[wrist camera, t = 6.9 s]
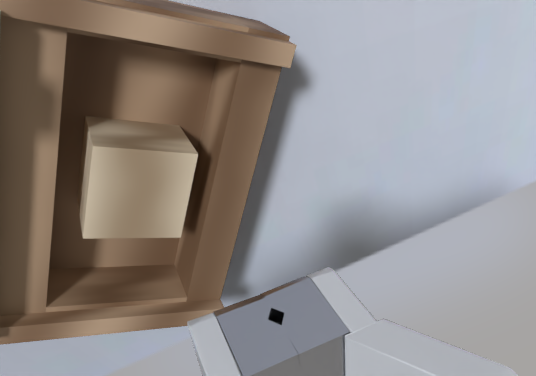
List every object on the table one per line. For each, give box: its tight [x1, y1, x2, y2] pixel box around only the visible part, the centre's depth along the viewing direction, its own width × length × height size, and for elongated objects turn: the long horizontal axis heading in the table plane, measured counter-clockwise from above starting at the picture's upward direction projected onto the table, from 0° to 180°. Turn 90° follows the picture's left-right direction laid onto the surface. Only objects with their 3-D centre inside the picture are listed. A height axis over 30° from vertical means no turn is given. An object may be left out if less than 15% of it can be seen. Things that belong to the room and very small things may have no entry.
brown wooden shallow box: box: [0, 0, 296, 344], centre depth 21 cm, size 18×16×4 cm
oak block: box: [77, 116, 198, 239], centre depth 23 cm, size 4×4×4 cm
